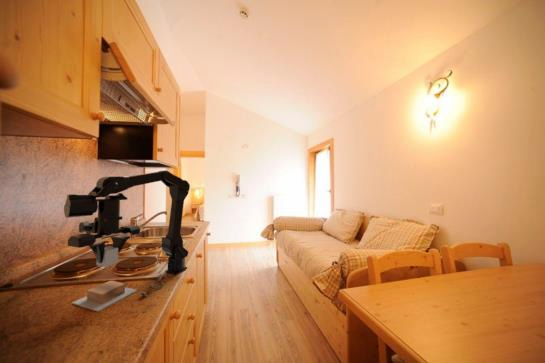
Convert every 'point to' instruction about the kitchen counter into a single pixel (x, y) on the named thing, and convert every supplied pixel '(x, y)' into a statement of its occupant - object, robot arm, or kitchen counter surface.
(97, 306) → the build mat
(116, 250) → the grey block
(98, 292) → the plinth
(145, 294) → the wooden post with brackets
